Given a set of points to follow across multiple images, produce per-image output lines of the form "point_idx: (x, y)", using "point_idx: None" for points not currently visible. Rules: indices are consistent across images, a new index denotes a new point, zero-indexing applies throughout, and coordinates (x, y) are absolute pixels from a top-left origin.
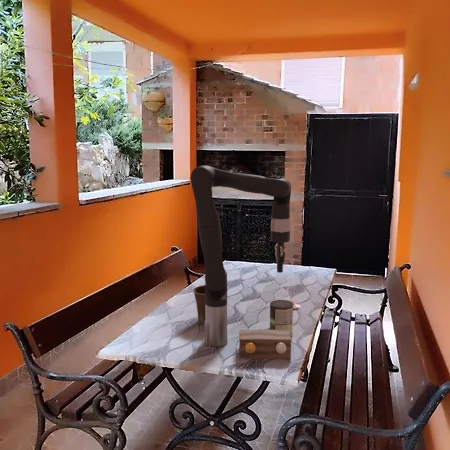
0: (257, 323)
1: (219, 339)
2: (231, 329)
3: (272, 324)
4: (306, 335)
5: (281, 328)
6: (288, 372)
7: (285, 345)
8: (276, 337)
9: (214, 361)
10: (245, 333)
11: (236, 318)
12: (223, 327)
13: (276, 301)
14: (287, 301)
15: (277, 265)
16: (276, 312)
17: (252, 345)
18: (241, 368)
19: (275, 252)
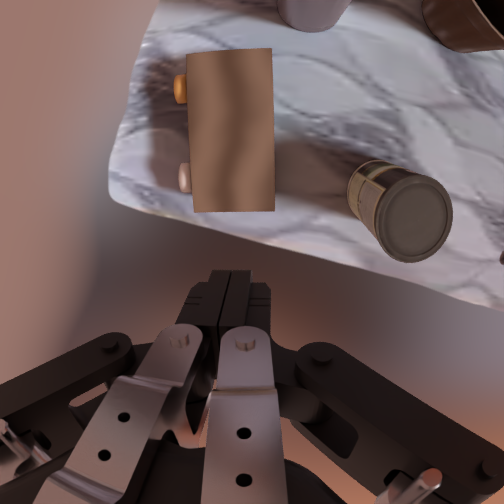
0: (448, 139)
1: (279, 5)
2: (407, 57)
3: (374, 169)
4: (358, 258)
5: (355, 194)
6: (135, 186)
7: (185, 191)
8: (206, 167)
9: (185, 11)
10: (238, 67)
11: (477, 91)
12: (289, 2)
13: (441, 205)
14: (434, 245)
15: (197, 310)
16: (378, 190)
17: (175, 94)
18: (147, 76)
19: (263, 452)
